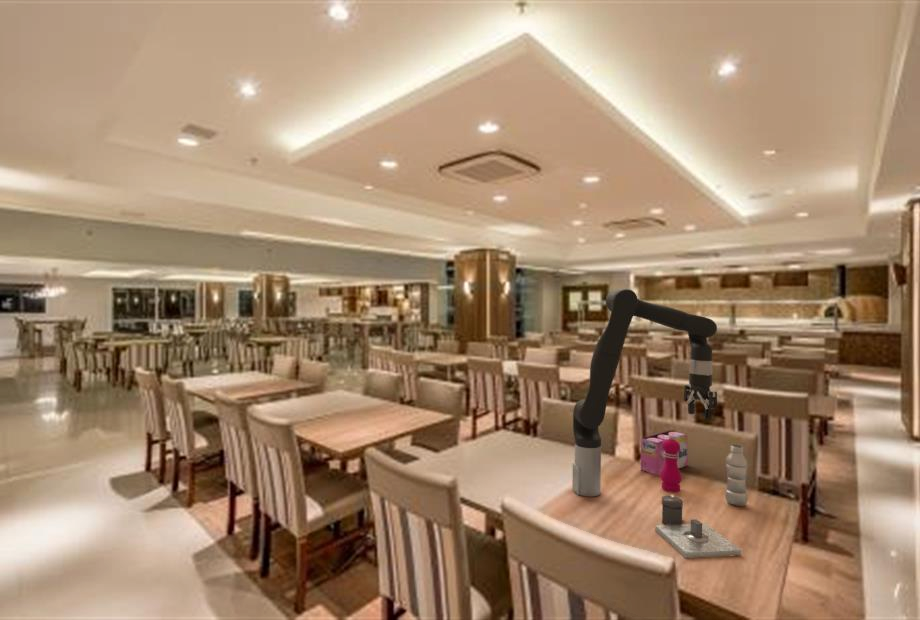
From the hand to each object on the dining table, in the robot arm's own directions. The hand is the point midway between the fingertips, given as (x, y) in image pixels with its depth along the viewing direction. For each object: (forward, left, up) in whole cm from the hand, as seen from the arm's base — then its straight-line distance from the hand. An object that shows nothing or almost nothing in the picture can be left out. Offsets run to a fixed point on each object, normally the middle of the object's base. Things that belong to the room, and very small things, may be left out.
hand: (699, 416), depth 175 cm
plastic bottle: (+6, -12, -28) cm, 31 cm away
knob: (-23, -22, -27) cm, 42 cm away
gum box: (+1, +25, -28) cm, 37 cm away
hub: (-24, -36, -27) cm, 51 cm away
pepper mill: (-9, +3, -28) cm, 29 cm away
